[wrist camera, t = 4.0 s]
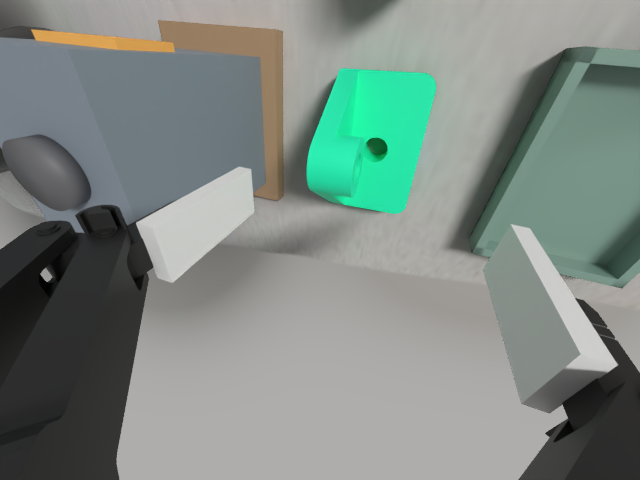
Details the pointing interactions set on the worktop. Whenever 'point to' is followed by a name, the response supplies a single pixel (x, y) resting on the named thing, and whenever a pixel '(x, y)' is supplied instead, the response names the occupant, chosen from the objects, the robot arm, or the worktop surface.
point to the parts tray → (577, 171)
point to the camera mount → (363, 124)
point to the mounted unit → (140, 115)
